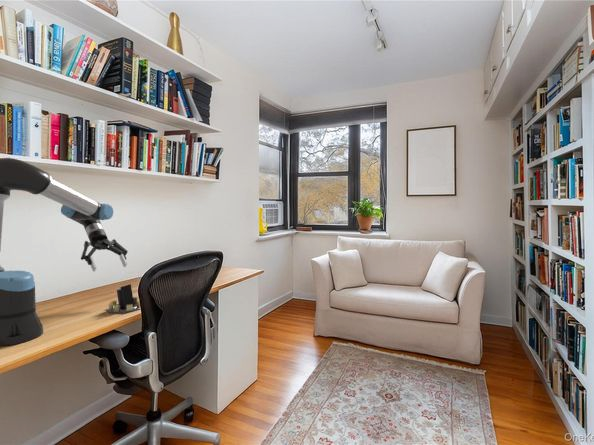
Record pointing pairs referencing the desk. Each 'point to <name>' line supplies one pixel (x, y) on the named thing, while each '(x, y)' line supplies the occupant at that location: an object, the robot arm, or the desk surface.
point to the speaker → (125, 296)
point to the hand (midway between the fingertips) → (110, 267)
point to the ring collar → (129, 308)
